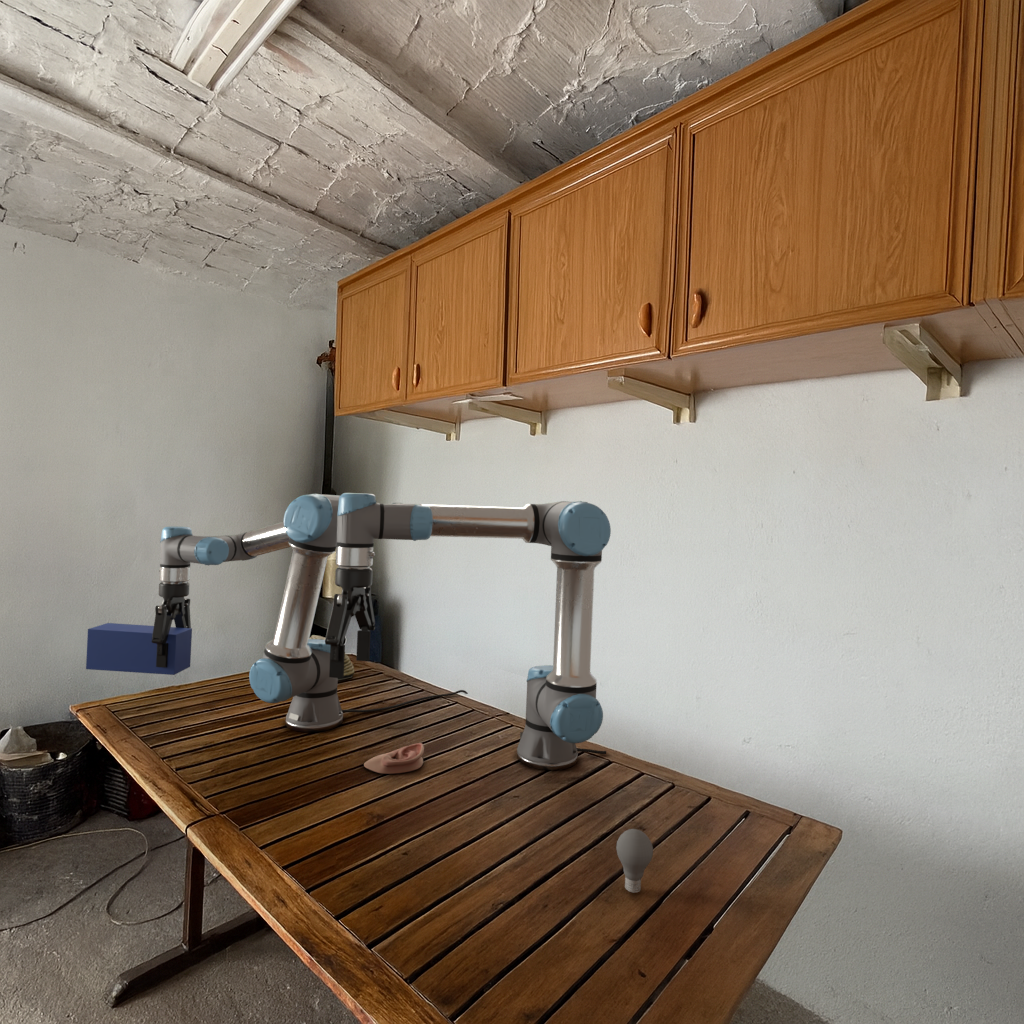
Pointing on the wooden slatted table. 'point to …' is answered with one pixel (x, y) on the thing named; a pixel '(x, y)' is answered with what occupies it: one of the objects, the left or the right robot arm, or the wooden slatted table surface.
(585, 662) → the right robot arm
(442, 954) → the wooden slatted table surface
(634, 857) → the light bulb
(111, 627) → the box
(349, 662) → the fossil
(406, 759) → the anatomical model
